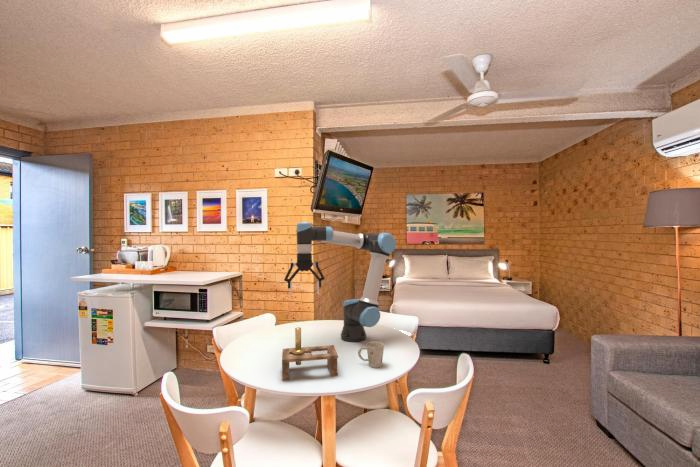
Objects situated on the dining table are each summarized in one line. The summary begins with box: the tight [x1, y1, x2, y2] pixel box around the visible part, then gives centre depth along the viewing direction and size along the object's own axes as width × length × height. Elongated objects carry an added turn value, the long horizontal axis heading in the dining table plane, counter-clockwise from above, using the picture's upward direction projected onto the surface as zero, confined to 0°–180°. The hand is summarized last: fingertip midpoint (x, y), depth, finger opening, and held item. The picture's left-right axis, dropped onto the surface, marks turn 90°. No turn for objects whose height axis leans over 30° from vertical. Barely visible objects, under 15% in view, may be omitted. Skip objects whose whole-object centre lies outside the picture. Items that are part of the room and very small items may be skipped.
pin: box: [292, 326, 306, 366], centre depth 145 cm, size 6×6×16 cm
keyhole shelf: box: [281, 344, 339, 381], centre depth 146 cm, size 24×14×9 cm, turn 101°
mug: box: [357, 340, 385, 369], centre depth 154 cm, size 8×13×10 cm, turn 78°
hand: (304, 294), depth 165 cm, fingers open, 13 cm apart
